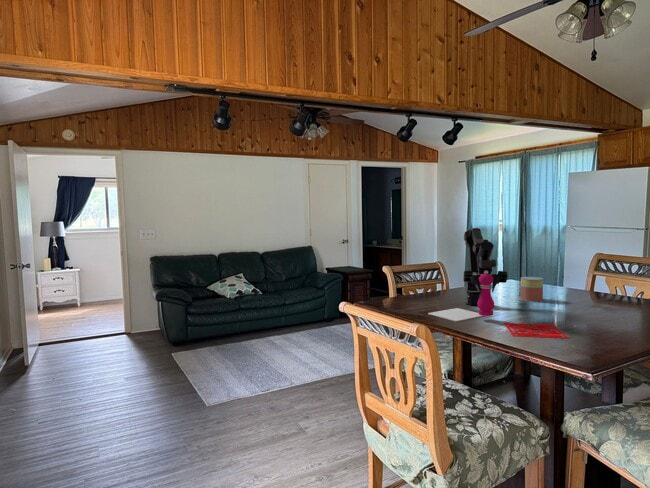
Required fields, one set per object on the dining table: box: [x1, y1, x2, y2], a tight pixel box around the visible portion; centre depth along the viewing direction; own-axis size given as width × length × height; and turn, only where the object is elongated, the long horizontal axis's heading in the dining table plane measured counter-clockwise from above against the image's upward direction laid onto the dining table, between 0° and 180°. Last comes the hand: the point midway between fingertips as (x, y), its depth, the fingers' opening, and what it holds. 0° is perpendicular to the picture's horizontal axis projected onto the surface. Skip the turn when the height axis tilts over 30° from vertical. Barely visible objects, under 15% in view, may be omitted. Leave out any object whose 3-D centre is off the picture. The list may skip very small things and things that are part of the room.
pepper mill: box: [477, 270, 495, 317], centre depth 194 cm, size 7×7×20 cm
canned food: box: [519, 276, 544, 303], centre depth 237 cm, size 11×11×12 cm
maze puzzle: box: [503, 322, 570, 339], centre depth 177 cm, size 20×20×1 cm
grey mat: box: [427, 307, 483, 323], centre depth 206 cm, size 20×18×1 cm
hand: (486, 291), depth 193 cm, fingers closed on pepper mill, 5 cm apart
